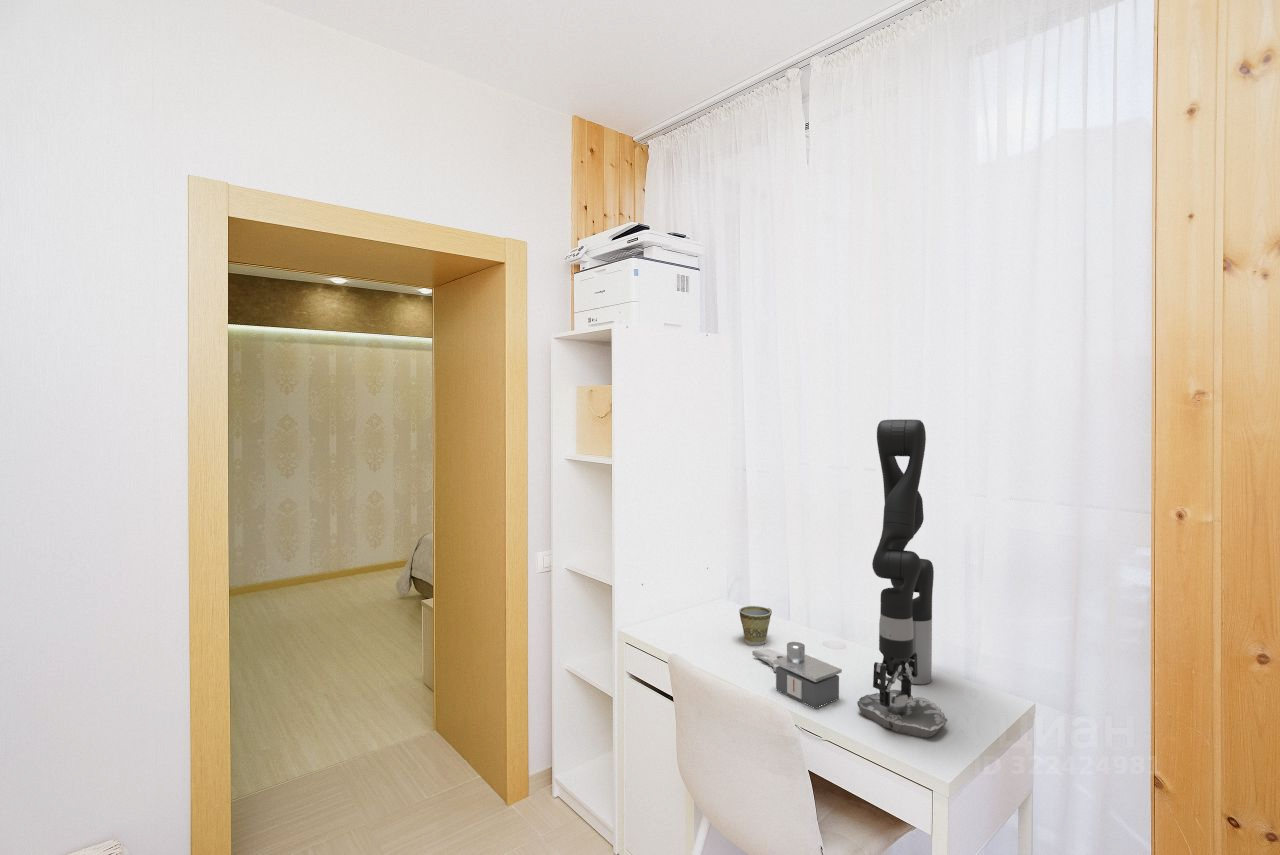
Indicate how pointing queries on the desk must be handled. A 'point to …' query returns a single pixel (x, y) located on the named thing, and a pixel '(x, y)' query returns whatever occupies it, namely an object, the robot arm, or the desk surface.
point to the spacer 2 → (898, 702)
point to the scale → (807, 687)
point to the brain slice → (905, 716)
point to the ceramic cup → (755, 623)
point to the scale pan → (809, 668)
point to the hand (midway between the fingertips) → (895, 700)
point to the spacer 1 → (795, 652)
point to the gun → (768, 656)
